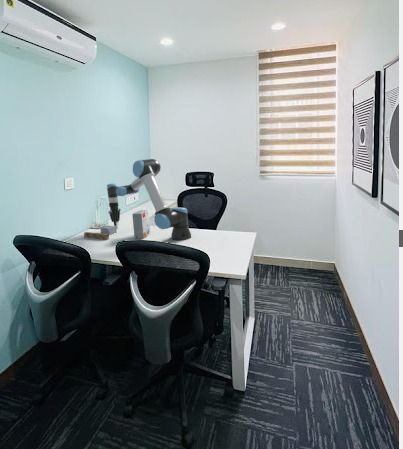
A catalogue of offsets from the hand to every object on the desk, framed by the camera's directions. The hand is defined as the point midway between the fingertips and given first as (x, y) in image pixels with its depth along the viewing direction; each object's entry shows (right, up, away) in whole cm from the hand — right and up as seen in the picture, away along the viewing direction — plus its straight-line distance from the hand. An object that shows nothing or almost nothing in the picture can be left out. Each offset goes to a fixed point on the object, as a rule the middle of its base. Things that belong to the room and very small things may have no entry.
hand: (116, 229), depth 286 cm
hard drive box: (+26, -6, -23) cm, 35 cm away
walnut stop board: (-11, -7, -20) cm, 24 cm away
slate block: (-4, -4, -8) cm, 10 cm away
